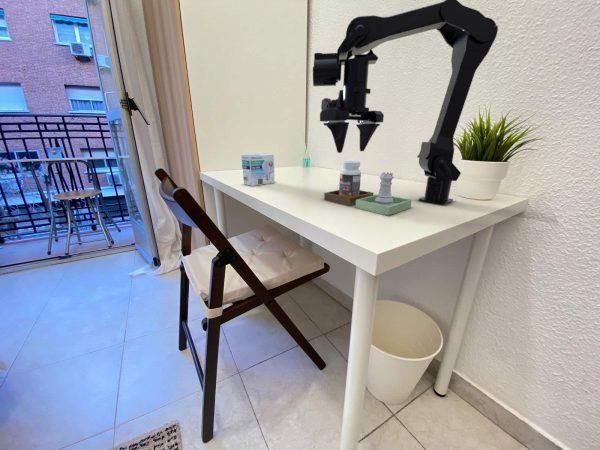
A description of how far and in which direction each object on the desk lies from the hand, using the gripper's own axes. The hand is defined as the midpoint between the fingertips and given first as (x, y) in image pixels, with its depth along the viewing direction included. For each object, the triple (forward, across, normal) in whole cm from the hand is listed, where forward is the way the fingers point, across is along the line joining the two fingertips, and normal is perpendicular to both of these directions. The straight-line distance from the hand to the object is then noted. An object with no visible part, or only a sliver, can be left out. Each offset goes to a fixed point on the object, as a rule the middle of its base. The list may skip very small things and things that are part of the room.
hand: (351, 151), depth 65 cm
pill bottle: (+13, 0, 0) cm, 13 cm away
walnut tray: (+13, 0, 0) cm, 13 cm away
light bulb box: (+13, +5, -40) cm, 42 cm away
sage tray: (+13, 0, +11) cm, 17 cm away
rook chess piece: (+13, 0, +11) cm, 17 cm away
